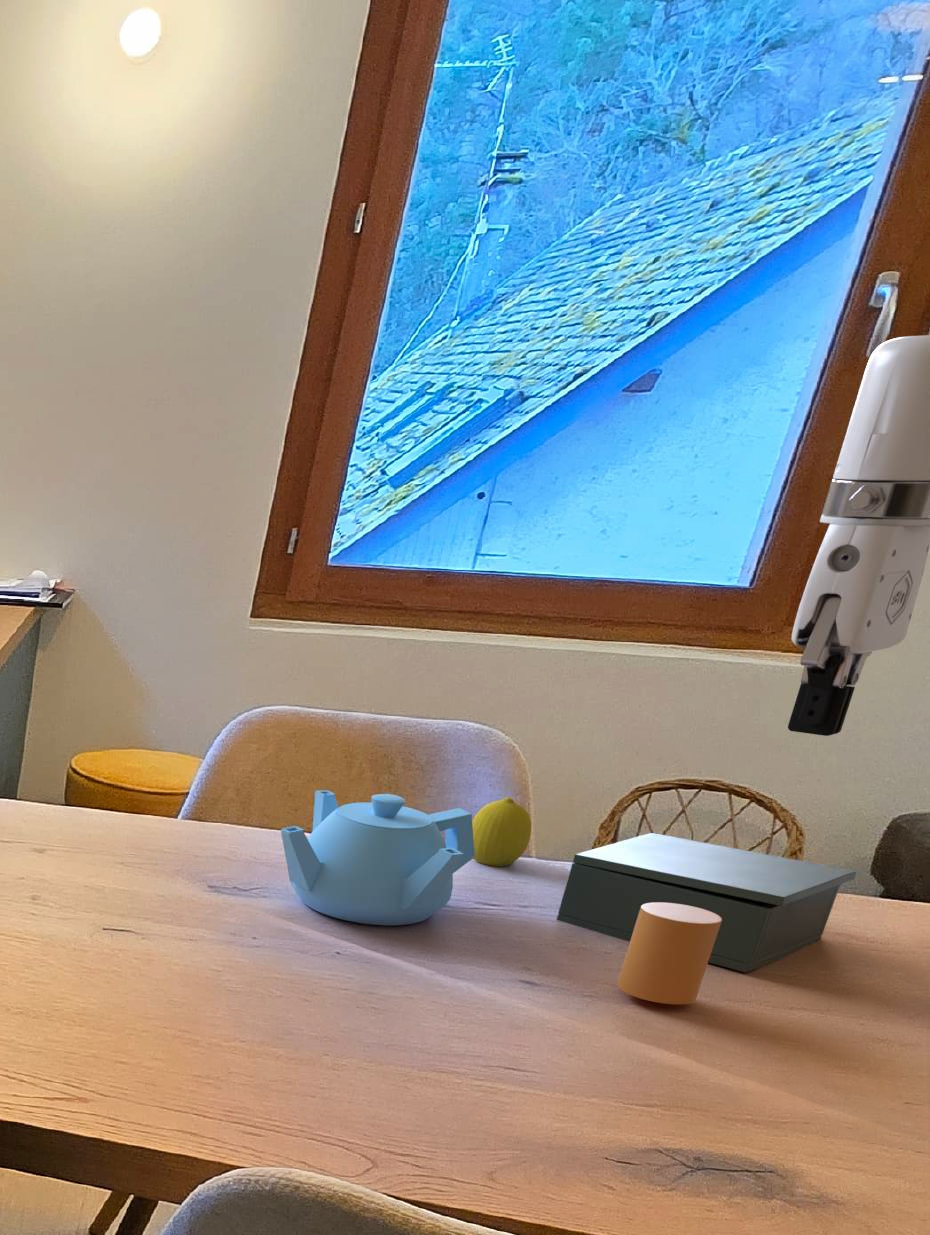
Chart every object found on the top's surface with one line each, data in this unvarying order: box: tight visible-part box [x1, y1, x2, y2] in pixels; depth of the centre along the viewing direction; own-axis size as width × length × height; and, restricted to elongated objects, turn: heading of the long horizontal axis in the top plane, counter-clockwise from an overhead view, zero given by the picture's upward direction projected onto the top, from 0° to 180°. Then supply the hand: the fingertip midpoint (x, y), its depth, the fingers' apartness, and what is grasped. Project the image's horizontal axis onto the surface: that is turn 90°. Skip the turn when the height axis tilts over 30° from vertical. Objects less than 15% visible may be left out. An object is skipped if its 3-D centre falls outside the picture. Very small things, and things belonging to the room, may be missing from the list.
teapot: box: [280, 789, 475, 926], centre depth 135 cm, size 15×15×11 cm
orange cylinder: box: [616, 902, 722, 1005], centre depth 116 cm, size 5×5×7 cm
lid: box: [572, 832, 857, 906], centre depth 128 cm, size 16×15×1 cm
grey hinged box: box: [556, 862, 841, 974], centre depth 130 cm, size 16×15×6 cm
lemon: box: [472, 796, 532, 867], centre depth 147 cm, size 6×6×8 cm
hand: (813, 731), depth 120 cm, fingers closed
